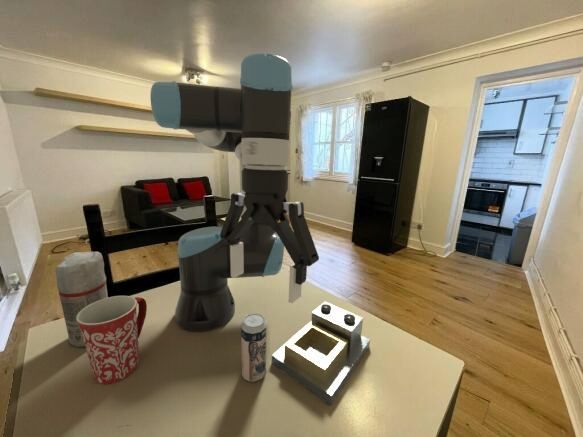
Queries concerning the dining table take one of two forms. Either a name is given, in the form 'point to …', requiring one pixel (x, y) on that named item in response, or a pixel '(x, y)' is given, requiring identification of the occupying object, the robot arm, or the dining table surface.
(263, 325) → the beer can
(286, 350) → the grey socket fixture
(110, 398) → the dining table surface
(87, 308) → the mug
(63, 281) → the spray can
